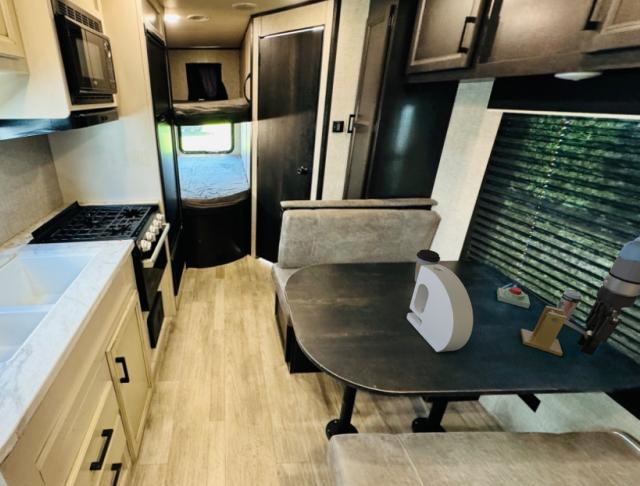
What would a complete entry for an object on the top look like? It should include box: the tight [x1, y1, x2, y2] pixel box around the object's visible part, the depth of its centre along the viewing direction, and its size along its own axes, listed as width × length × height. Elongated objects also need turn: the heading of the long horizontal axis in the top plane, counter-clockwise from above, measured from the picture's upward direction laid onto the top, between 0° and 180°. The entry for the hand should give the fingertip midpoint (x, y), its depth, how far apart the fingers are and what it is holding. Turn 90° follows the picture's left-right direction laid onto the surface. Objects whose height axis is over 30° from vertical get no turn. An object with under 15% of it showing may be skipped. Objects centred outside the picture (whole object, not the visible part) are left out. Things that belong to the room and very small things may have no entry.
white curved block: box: [406, 263, 474, 353], centre depth 109 cm, size 7×21×25 cm, turn 6°
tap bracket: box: [520, 305, 566, 357], centre depth 108 cm, size 10×8×14 cm
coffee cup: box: [414, 248, 441, 283], centre depth 144 cm, size 9×9×15 cm
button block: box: [496, 287, 531, 309], centre depth 133 cm, size 10×8×4 cm
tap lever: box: [546, 310, 593, 340], centre depth 104 cm, size 14×4×4 cm, turn 56°
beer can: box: [555, 289, 582, 322], centre depth 120 cm, size 5×5×12 cm
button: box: [510, 286, 523, 295], centre depth 132 cm, size 4×4×2 cm
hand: (584, 348), depth 104 cm, fingers closed on tap lever, 4 cm apart
